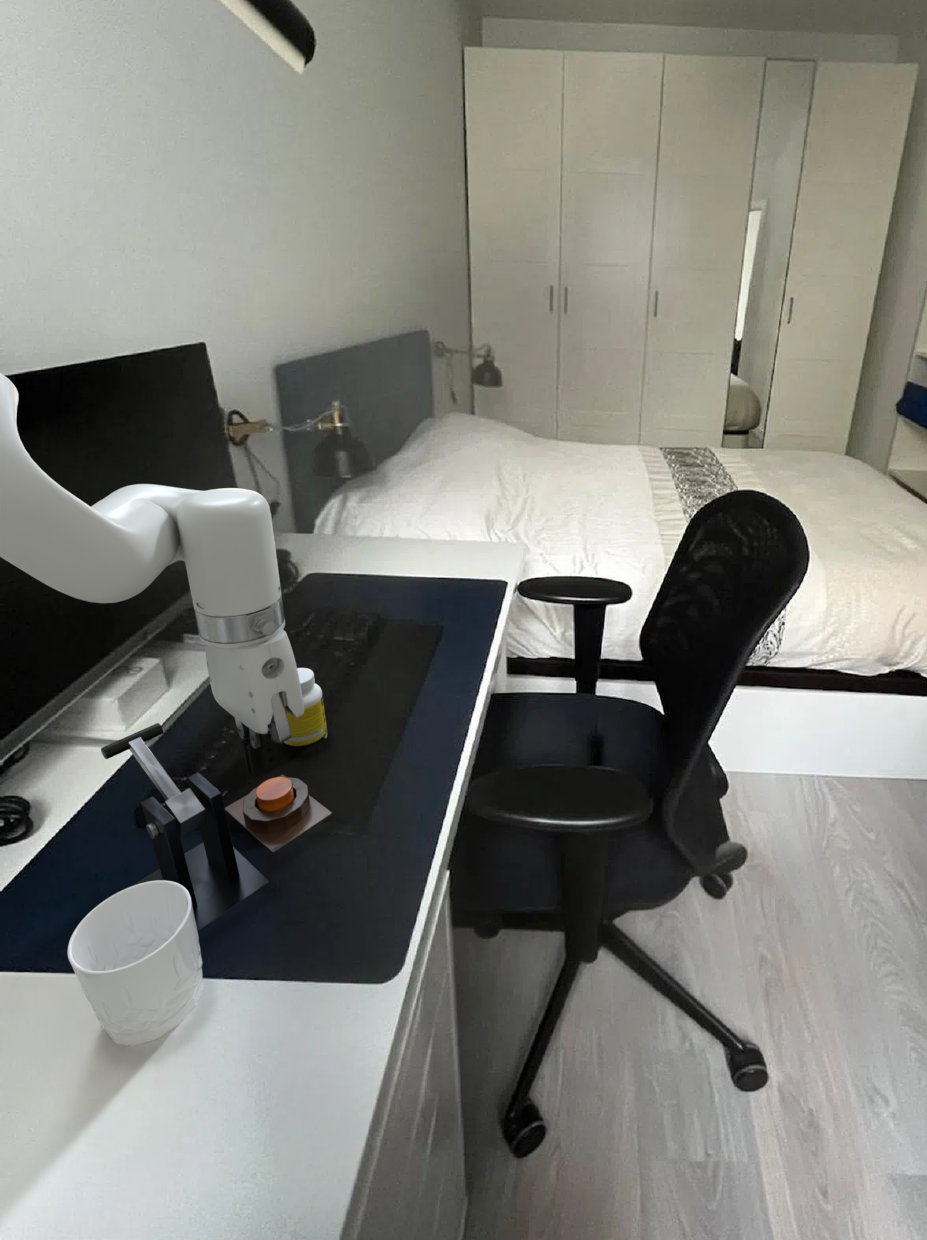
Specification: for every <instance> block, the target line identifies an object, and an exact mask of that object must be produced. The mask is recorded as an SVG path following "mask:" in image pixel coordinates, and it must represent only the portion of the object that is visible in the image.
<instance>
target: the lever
mask: <svg viewBox="0 0 927 1240" xmlns="http://www.w3.org/2000/svg"><path fill="white" fill-rule="evenodd" d="M163 734H164V729H163V727H162V725H161V724H160V723H159V722H157V723H154V724H152V725H150V726H147V727H145V728H143V729H141V730H139V731H136V732H134V733H132V734H130V735H127V736H125V737H123V738H121V739H119V740H116V741H113V742H111V743H109V744H107V745H105V746H103V747H101V748H100V752H101V755H102V756H103V758H104V759H105V760H108V759H111V758H113V757H115V756H117V755H120V754H122V753H124V752H126V751H128V750H129V751H130V753H131V754H132V755H133V757H134V758H135V760H136V761H137V762H138V764H139V765H140V766H141V768H142V770H143V771H144V772H145V773H146V775H147V776H148V777H149V779H150V781H151V782H152V783H153V785H154V786H155V788H156V789H157V790H158V792H159V793H160V795H161V796H162V797H163V799H164V800H165V801H164V808H165V809H166V810H167V811H168V812H169V813H170V814H171V815H172V816H173V817H174V818H175V821H176V824H177V828H178V832H179V836H180V838H182V837H185V835H187V834H189V833H190V832H193V831H195V830H196V829H198V828H200V827H199V826H201V825H203V824H205V808H204V806H203V805H202V804H201V802H200V801H199V800H198V798H197V797H196V796H195V794H194V793H193V792H192V790H191V789H190V787H189V788H187V789H185V790H184V791H182V792H181V790H180V789H179V788H178V786H177V785H176V783H175V782H174V780H173V779H172V778H171V776H170V775H169V774H168V772H167V771H166V770H165V769H164V766H162V764H161V763H160V761H159V760H158V759H157V757H156V756H155V755H154V754H153V752H152V750H151V749H150V747H148V745H147V744H146V742H148V741H150V740H152V739H154V738H156V737H159V736H161V735H163Z"/></svg>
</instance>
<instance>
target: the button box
mask: <svg viewBox="0 0 927 1240" xmlns="http://www.w3.org/2000/svg"><path fill="white" fill-rule="evenodd" d="M278 777H285V778H288V779H290V780H291V782H292V786H293V792H294V799H293V801H292V803H291V804H290V805H289V806H287V807H285V808H284V809H282V810H278V811H274V812H271V813H270V812H263V811H261V810H260V809H259V807H258V802H257V797H256V791H257V788H258V787H259V786H260V785H258V786H256V787H254V788H253V789H251V790H250V792H249V793H248V794H245V795H244V796H243V797H241V798H239V799H238V800H236V801H234V802H232V803H231V804H229V805H227V806H226V807H224V808H225V812H226V813H227V814H229V816H231V817H232V818H233V819H234V820H235V821H236V822H237V823H238V824H240V825H241V826H242V828H244V829H245V830H246V831H247V832H249V833H250V834H251V836H253V838H255V839H256V840H257V841H259V842H260V844H262V845H263V846H264V847H265V848H266V849H267V850H268V851H270V853H272V854H274V853H276V852H278V851H279V850H280V849H282V848H283V847H285V846H286V845H288V844H290V843H291V842H292V841H294V840H295V839H297V838H298V837H300V836H301V835H303V834H304V833H306V832H307V831H309V830H310V829H312V828H314V827H315V826H316V825H318V824H320V823H321V822H322V821H324V820H325V819H327V818H328V817H330V816H331V815H333V812H332V811H331V810H330V809H328V808H327V807H326V806H325V805H323V804H322V803H320V802H319V801H318V800H317V799H315V798H314V797H312V796H311V795H310V792H309V786H308V784H306V783H305V782H304V781H303V780H302V779H300V778H298V777H288V776H286V775H284V774H281V775H279V776H278Z"/></svg>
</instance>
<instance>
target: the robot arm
mask: <svg viewBox="0 0 927 1240" xmlns="http://www.w3.org/2000/svg"><path fill="white" fill-rule="evenodd" d="M19 396H20V395H19V391H18V389H17V387H16V386H15V385H14V383H13V382H12V380H11V379H9V378H8V377H7V376H5V374H3V373H2V372H0V558H1V559H3V560H4V561H6V562H8V563H9V564H11V565H13V566H14V567H16V568H18V569H19V570H21V571H23V572H25V573H26V574H27V575H29V576H31V577H32V578H34V579H36V580H37V581H39V582H41V583H42V584H44V585H46V586H48V587H49V588H51V589H53V590H55V591H57V592H60V593H62V594H64V595H67V596H69V597H72V598H74V599H77V600H80V601H85V602H89V603H97V604H114V603H115V604H116V603H119V602H123V601H127V600H129V599H131V598H133V597H135V596H138V595H139V594H141V593H143V591H145V590H146V589H147V588H148V587H149V586H150V585H151V584H152V583H153V582H154V581H155V580H156V579H157V578H158V577H159V575H160V574H161V573H162V572H163V571H164V570H165V569H166V568H167V567H168V566H170V565H172V564H174V563H176V562H178V561H182V562H184V565H185V569H186V573H187V574H186V575H187V580H188V587H189V590H190V595H191V596H190V597H191V601H192V606H193V611H194V617H195V622H196V627H197V632H198V637H199V640H200V642H201V643H202V644H204V649H205V650H204V651H205V659H206V667H207V673H208V679H209V685H210V688H211V692H212V695H213V698H214V700H215V701H216V703H218V705H219V706H220V707H222V709H223V710H225V711H226V712H227V713H229V714H230V715H231V716H233V718H234V721H235V726H236V729H237V733H238V735H239V737H240V738H241V739H242V741H241V748H242V751H243V752H242V753H243V759H244V765H245V769H246V771H247V772H248V773H250V774H251V775H252V776H253V777H254V778H259V777H261V776H262V775H264V774H266V773H268V772H269V771H271V770H273V769H275V768H277V767H278V766H281V765H282V764H283V762H284V757H283V751H282V749H283V748H282V743H284V741H286V740H288V739H290V738H291V737H292V734H291V731H290V727H289V723H288V720H287V716H286V712H285V710H286V711H287V712H289V713H290V714H292V715H293V716H294V717H296V718H298V717H301V716H303V714H304V702H303V696H302V690H301V685H300V680H299V675H298V670H297V668H298V667H297V662H296V658H295V655H294V651H293V648H292V645H291V642H290V639H289V636H288V634H287V632H286V631H285V630H284V629H285V626H286V617H285V613H284V612H285V611H284V603H283V596H282V587H281V581H280V580H281V579H280V573H279V565H278V558H277V549H276V543H275V542H276V541H275V535H274V526H273V519H272V512H271V507H270V504H269V502H268V501H267V499H266V497H264V496H263V495H262V494H261V493H259V492H257V491H255V490H251V489H247V488H246V489H245V488H238V487H237V488H236V487H224V488H213V489H208V490H198V489H190V488H184V487H183V488H181V487H177V486H176V487H175V486H168V485H163V484H153V483H137V484H130V485H126V486H123V487H120V488H118V489H117V490H116V489H115V490H114V491H113V492H111V493H109V495H107V496H105V497H103V499H102V498H101V499H100V500H98V501H97V502H96V503H94V504H93V505H91V506H90V505H89V504H88V503H86V502H85V501H83V500H81V499H80V498H78V497H77V496H76V495H74V494H72V493H71V492H70V491H69V490H67V489H66V488H64V487H63V486H61V485H60V484H59V483H58V482H57V481H55V480H54V479H53V478H52V477H50V476H49V475H48V474H47V473H46V472H45V471H44V470H43V469H42V468H41V467H40V466H39V465H38V464H37V462H35V461H34V459H33V458H32V457H31V455H30V453H29V452H28V451H27V450H26V448H25V446H24V444H23V442H22V440H21V438H20V434H19V431H18V426H17V416H18V415H17V413H18V406H19Z"/></svg>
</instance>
